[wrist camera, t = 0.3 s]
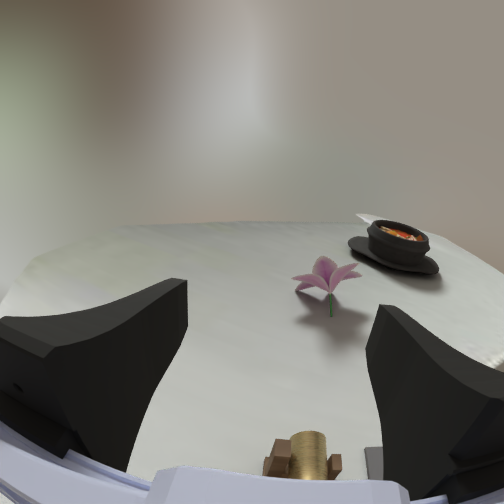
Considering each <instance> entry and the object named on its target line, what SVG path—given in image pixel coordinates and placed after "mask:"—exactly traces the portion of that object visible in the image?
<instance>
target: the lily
mask: <svg viewBox="0 0 504 504" xmlns="http://www.w3.org/2000/svg"><path fill="white" fill-rule="evenodd" d="M357 265H359V263H353V264H349V265H345V266H342V267H339V268H338V266H337V265H336V263H335V262H334V261H332V260H331V259H330V258H328V257H325V256H321V257H319V258H318V259H317V260H316V262H315V264H314V266H313V271H312V273H313V274H306V275H300V276H296V277H293V278H291V279H293V280H298V281H302V283H300V284H299V285H298V286H297V288H296V289H295V291H299V290H303V289H306V288H310V287H315V286H316V287H319V288H321V289H323V290H325V291H327V292H329V298H330V315H331V317H332V301H331V293H332V292H333V291H334V289H335V288H336V286H337V285H338V283H339V282H340V281H342V280H346V279H351V278H357V277H362V275H361V274H360V273H358V272H355V271H351V270H352V269H354V268H355V267H356V266H357Z"/></svg>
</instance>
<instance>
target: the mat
mask: <svg viewBox="0 0 504 504" xmlns="http://www.w3.org/2000/svg"><path fill="white" fill-rule="evenodd" d="M364 450H365V458H366V465H367V473H368V480H382V481H383V447H366V448H365V449H364Z"/></svg>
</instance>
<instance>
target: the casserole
mask: <svg viewBox="0 0 504 504" xmlns="http://www.w3.org/2000/svg"><path fill="white" fill-rule="evenodd" d="M367 232H368V234H369V237H360V236H357V237H353V238H351V239H350V240H349V241H348V245H349V247H350V248H351V249H353V250H354V251H356V252H358V253H360V254H363V255H365V256H367V257H369V258H371V259H373V260H375V261H377V262H378V263H380V264H382V265H384V266H386V267H389V268H392V269H396V270H402V271H412V272H421V273H426V274H436V273H438V271H439V267H438V265H437V263H436V262H435V261H434V260H433V259H432V258H430V257H428V256H425V254H426V252H428V251H429V250H430V246H429V239H428V237H427V236H426V235H425V234H424V233H422V232H420V231H419V230H417V229H415V228H413V227H410V226H408V225H405V224H402V223H398V222H394V221H387V220H376V221H374V222H373V223H372V225H371V226H370V227H368V228H367Z"/></svg>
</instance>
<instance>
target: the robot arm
mask: <svg viewBox="0 0 504 504" xmlns="http://www.w3.org/2000/svg"><path fill="white" fill-rule="evenodd" d="M187 327H188V303H187V280H182V279H176V278H170V279H167V280H164V281H162V282H159V283H157V284H155V285H153V286H150V287H148V288H146V289H144V290H141V291H139V292H137V293H134V294H132V295H129V296H127V297H124V298H122V299H119V300H117V301H114V302H111V303H108V304H105V305H102V306H98V307H95V308H91V309H87V310H82V311H77V312H72V313H67V314H60V315H52V316H39V317H12V316H4V317H2V318H1V319H0V492H1V493H2V494H3V495H4V496H6V497H7V498H8V499H9V500H11V501H12V502H13V503H15V504H504V373H503V372H500V371H498V370H495V369H493V368H490V367H488V366H486V365H484V364H482V363H479V362H477V361H475V360H473V359H471V358H469V357H468V356H466V355H464V354H462V353H461V352H459V351H457V350H456V349H454V348H452V347H451V346H449V345H448V344H446V343H445V342H443V341H442V340H441V339H439V338H438V337H436V336H435V335H434V334H432V333H431V332H430V331H428V330H427V329H426V328H424V327H423V326H422V325H420V324H419V323H418V322H417V321H415V320H414V319H413V318H411V317H410V316H409V315H408V314H406V313H405V312H403V311H402V310H401V309H399V308H397V307H396V306H392V305H381V304H379V308H378V311H377V314H376V318H375V321H374V324H373V327H372V330H371V333H370V336H369V339H368V342H367V345H366V348H365V349H366V359H367V367H368V373H369V377H370V381H371V385H372V388H373V392H374V396H375V400H376V404H377V408H378V412H379V417H380V423H381V431H382V443H383V481H382V480H302V479H287V478H275V477H266V476H257V475H250V474H243V473H236V472H230V471H225V470H219V469H213V468H203V467H193V466H185V465H183V466H178V467H173V468H168V469H163V470H159V471H157V472H156V475H155V477H154V480H153V482H150V481H147V480H144V479H141V478H138V477H135V476H132V475H130V474H127V473H126V470H127V467H128V463H129V459H130V456H131V453H132V450H133V447H134V443H135V440H136V437H137V434H138V432H139V429H140V426H141V423H142V421H143V418H144V415H145V413H146V410H147V408H148V405H149V403H150V400H151V398H152V396H153V394H154V392H155V390H156V388H157V386H158V384H159V382H160V381H161V379H162V377H163V375H164V374H165V372H166V370H167V369H168V367H169V365H170V363H171V362H172V360H173V358H174V356H175V355H176V353H177V351H178V349H179V347H180V345H181V343H182V340H183V338H184V335H185V333H186V330H187Z"/></svg>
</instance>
